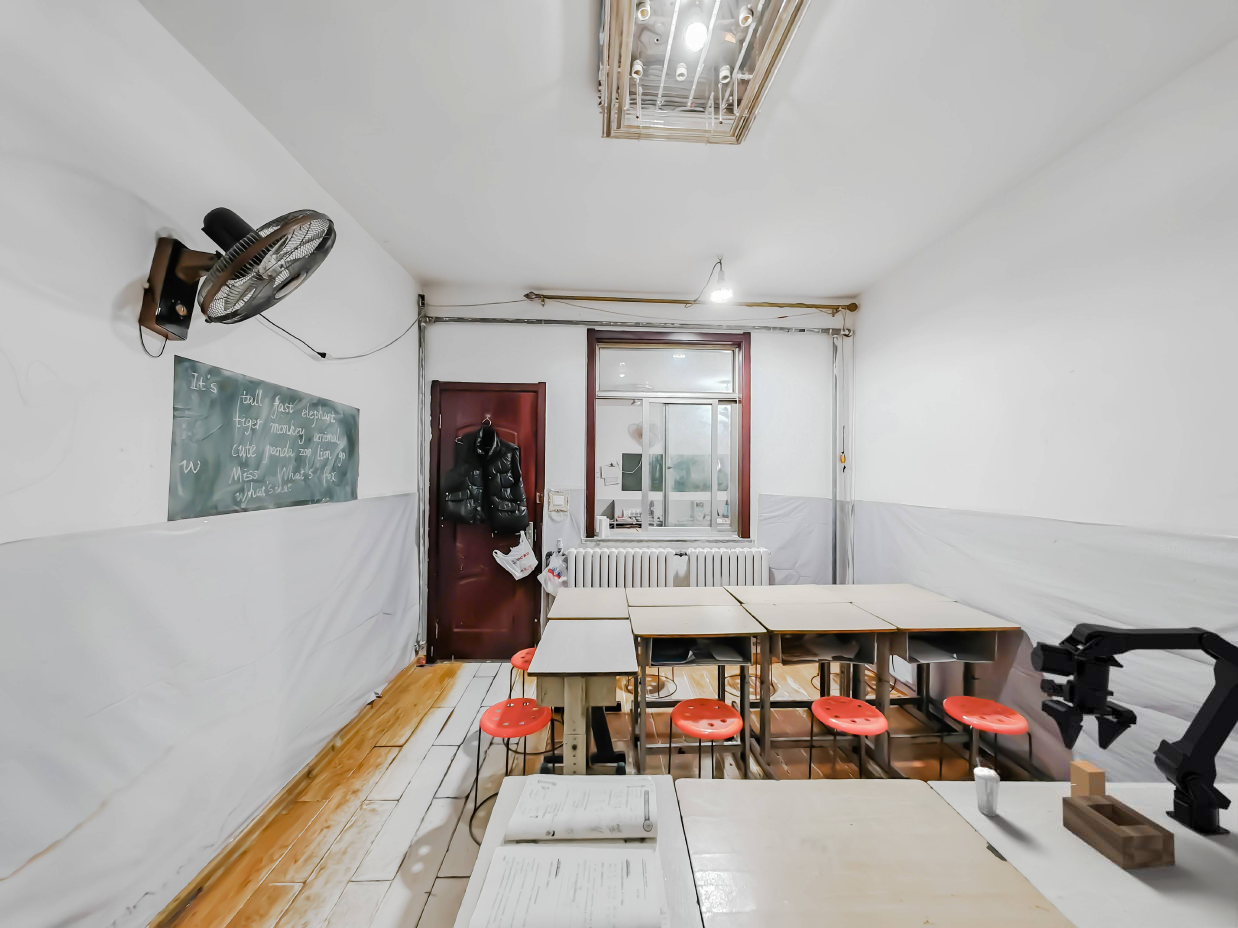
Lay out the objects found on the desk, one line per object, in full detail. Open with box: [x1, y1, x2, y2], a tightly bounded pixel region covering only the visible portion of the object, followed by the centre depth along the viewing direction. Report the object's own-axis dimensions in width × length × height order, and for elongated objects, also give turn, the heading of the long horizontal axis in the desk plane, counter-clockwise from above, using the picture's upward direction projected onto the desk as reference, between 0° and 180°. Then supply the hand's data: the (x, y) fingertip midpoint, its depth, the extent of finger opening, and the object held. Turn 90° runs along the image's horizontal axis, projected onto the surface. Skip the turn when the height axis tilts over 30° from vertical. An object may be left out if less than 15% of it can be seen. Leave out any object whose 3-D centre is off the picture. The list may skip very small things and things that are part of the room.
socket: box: [1061, 794, 1176, 870], centre depth 94 cm, size 11×11×6 cm
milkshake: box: [973, 757, 1001, 817], centre depth 104 cm, size 4×5×10 cm
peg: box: [1069, 760, 1107, 797], centre depth 107 cm, size 4×4×8 cm
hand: (1085, 748), depth 107 cm, fingers open, 9 cm apart
